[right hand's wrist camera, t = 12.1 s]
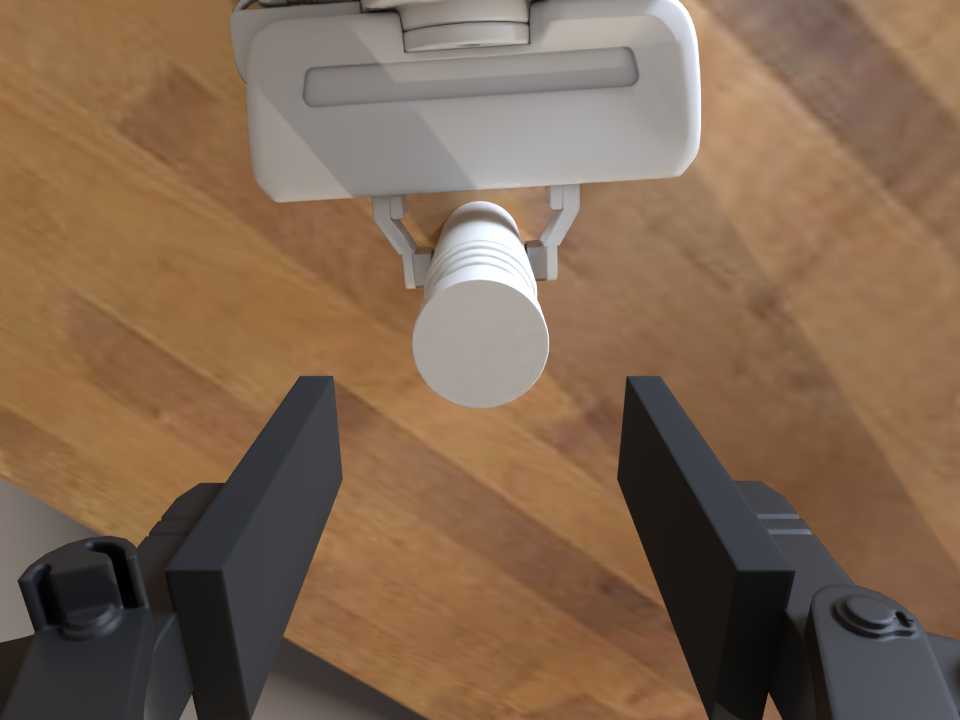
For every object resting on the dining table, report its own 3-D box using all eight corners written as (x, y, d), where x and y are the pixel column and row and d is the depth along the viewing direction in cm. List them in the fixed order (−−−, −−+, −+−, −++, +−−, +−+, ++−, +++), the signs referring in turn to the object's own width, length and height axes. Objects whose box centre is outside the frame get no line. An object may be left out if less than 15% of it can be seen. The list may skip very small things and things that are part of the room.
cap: (568, 306, 21) (575, 321, 20) (502, 407, 23) (504, 429, 21) (455, 242, 20) (452, 253, 19) (394, 351, 22) (388, 370, 20)
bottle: (534, 226, 37) (579, 316, 20) (494, 293, 38) (505, 429, 21) (464, 185, 36) (451, 244, 19) (426, 255, 37) (384, 367, 21)
